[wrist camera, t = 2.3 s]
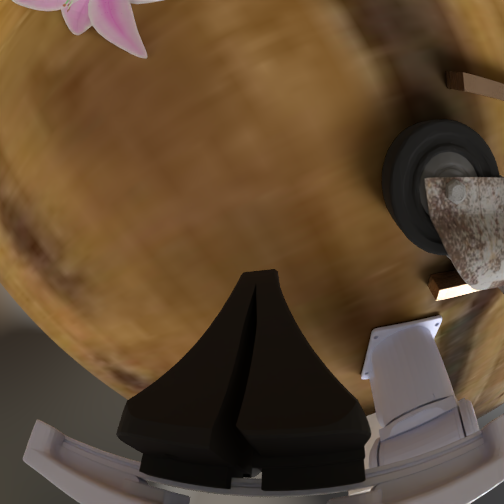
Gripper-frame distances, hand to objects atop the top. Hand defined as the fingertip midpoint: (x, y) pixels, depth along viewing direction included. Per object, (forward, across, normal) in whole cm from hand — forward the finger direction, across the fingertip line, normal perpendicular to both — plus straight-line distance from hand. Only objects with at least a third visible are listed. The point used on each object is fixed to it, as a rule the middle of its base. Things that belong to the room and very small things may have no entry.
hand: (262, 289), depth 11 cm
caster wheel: (+8, -12, 0) cm, 15 cm away
